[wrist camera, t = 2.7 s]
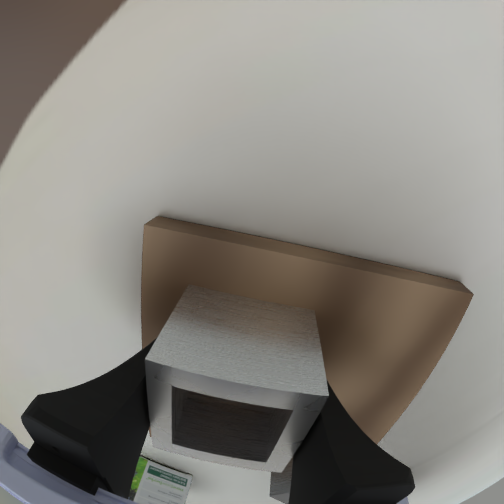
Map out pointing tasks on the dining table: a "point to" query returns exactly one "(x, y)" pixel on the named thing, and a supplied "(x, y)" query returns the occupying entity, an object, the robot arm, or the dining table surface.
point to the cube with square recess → (235, 380)
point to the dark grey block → (281, 483)
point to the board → (316, 307)
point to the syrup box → (158, 484)
